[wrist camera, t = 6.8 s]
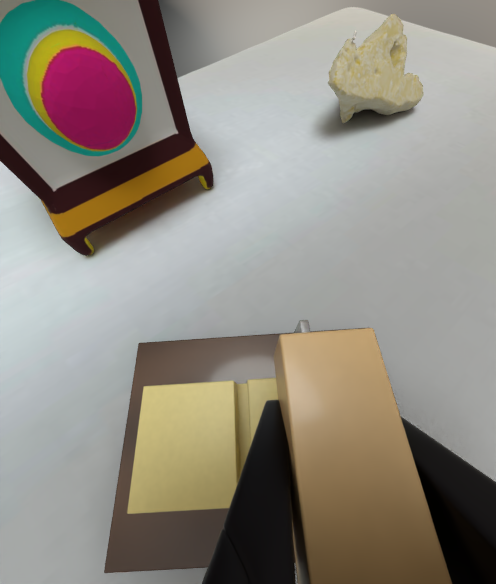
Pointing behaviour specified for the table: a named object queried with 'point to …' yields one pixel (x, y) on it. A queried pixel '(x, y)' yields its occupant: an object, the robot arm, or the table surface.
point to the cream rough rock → (375, 73)
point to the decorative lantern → (92, 110)
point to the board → (148, 372)
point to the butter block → (194, 443)
